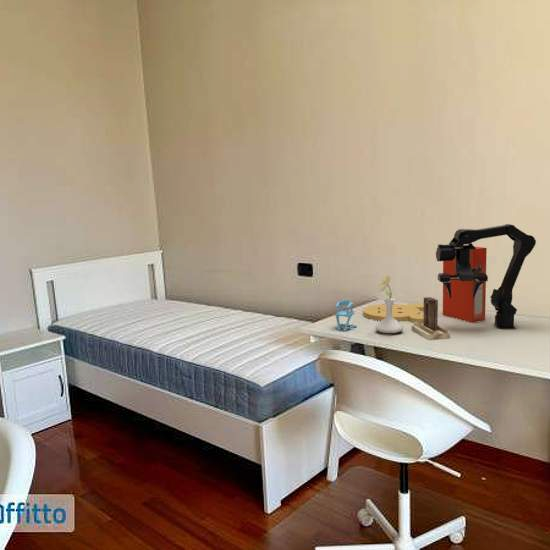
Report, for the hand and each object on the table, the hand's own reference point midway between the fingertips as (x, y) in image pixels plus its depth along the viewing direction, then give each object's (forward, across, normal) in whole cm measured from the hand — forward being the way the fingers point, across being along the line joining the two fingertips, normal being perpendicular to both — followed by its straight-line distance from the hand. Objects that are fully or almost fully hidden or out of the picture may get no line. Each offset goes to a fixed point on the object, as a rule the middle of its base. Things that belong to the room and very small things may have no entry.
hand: (461, 297), depth 217 cm
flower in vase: (+13, -30, -5) cm, 33 cm away
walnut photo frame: (+11, -14, -8) cm, 19 cm away
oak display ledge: (+13, -14, -8) cm, 21 cm away
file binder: (+13, +5, +18) cm, 23 cm away
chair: (+13, -48, +1) cm, 50 cm away
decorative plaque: (+14, -24, +24) cm, 37 cm away
